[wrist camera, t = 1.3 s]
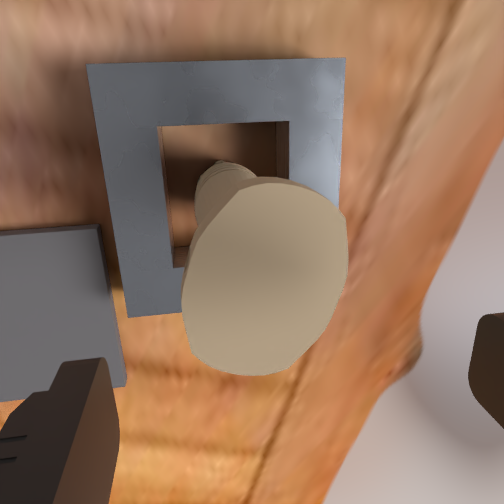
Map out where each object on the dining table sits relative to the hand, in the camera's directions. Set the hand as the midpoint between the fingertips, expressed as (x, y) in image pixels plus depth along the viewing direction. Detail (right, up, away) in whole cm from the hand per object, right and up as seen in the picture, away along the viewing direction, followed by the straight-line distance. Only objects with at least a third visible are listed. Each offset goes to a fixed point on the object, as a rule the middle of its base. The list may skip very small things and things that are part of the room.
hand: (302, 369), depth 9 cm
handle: (-3, +7, +18) cm, 19 cm away
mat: (-17, -2, +19) cm, 25 cm away
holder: (-3, +7, +17) cm, 19 cm away
